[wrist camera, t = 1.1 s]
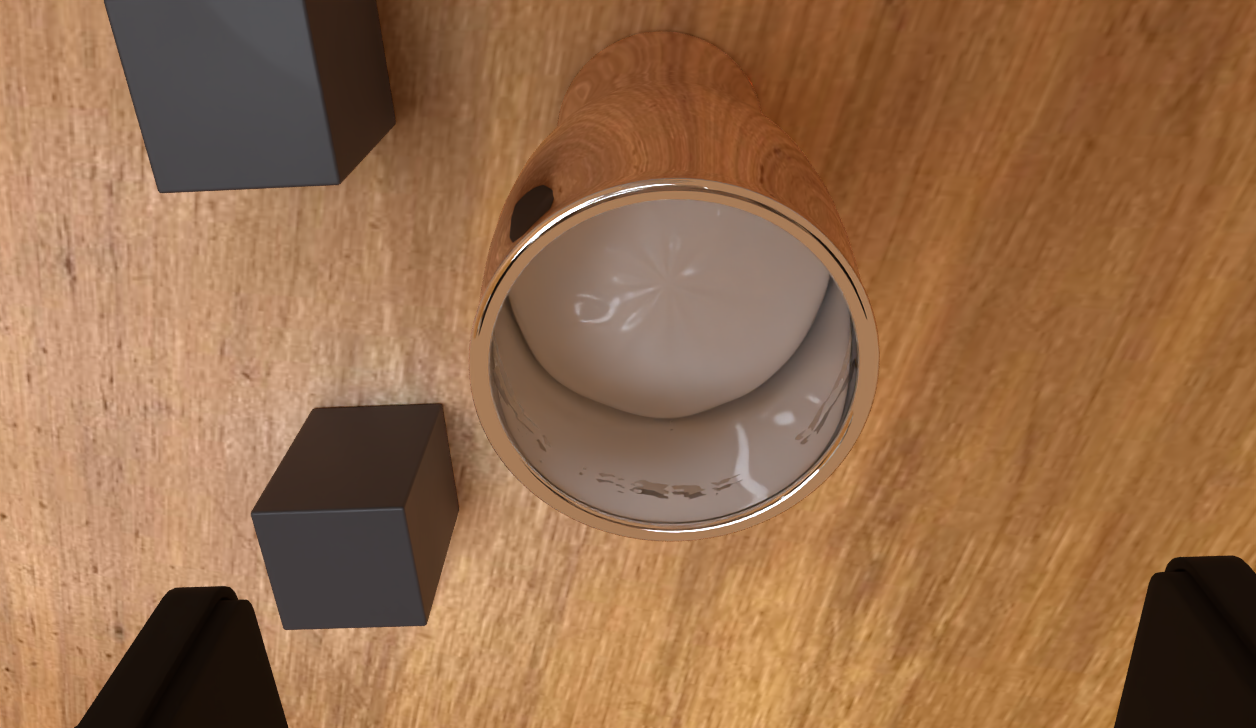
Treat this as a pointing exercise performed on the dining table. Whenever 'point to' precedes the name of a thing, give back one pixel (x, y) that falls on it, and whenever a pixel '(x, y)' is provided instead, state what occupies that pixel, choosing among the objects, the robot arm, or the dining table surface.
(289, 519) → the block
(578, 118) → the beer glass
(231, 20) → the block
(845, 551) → the dining table surface
